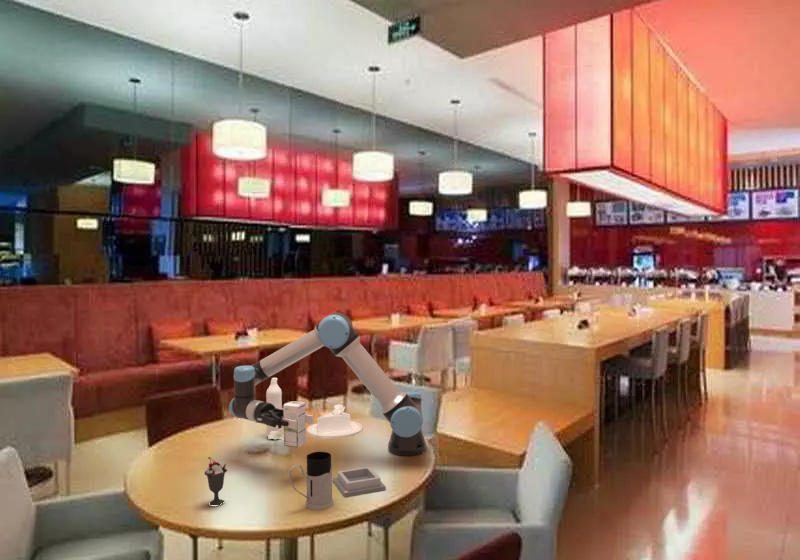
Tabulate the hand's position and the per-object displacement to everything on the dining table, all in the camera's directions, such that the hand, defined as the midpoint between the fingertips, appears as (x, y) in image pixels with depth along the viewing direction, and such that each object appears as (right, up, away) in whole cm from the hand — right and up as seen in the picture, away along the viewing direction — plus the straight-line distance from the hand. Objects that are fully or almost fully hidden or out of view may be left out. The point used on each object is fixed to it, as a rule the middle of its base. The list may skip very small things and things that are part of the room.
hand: (304, 422), depth 189 cm
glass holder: (+5, -21, -18) cm, 28 cm away
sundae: (-25, -22, -15) cm, 36 cm away
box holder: (+19, -21, -3) cm, 28 cm away
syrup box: (-4, -9, +3) cm, 10 cm away
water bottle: (-21, -20, +51) cm, 59 cm away
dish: (+3, -19, +61) cm, 64 cm away
